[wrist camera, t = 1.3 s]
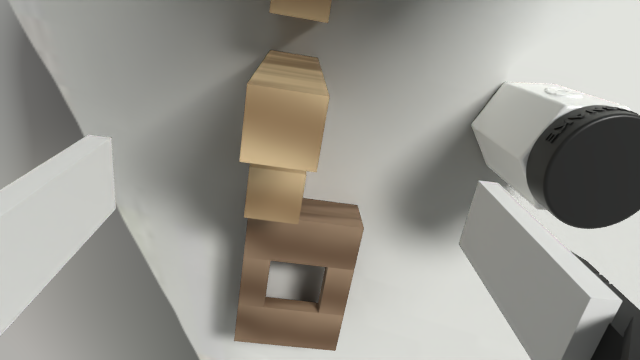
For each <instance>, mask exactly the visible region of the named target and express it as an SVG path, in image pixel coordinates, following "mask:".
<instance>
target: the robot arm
mask: <svg viewBox="0 0 640 360" xmlns="http://www.w3.org/2000/svg"><path fill="white" fill-rule="evenodd" d="M115 209H116V203H115V187H114V170H113V153H112V137H103V136H95V135H87V136H86V137H84V138H83V139H81V140H79V141H78V142H76V143H75V144H73V145H71V146H70V147H68V148H67V149H65V150H63V151H62V152H60V153H59V154H57V155H55V156H54V157H52V158H51V159H49V160H47V161H46V162H44V163H43V164H41V165H39V166H38V167H36V168H34V169H33V170H31V171H30V172H28V173H26V174H25V175H23V176H22V177H20V178H18V179H17V180H15V181H14V182H12V183H10V184H9V185H7V186H6V187H4V188H2V189H1V190H0V336H1V335H2V334H3V333H4V332H5V330H6V329H7V328H8V327H9V326H10V325H11V324H12V323H13V322H14V321H15V319H16V318H17V317H18V316H19V315H20V314H21V313H22V312H23V310H25V308H26V307H27V306H28V305H29V304H30V303H31V302H32V301H33V299H34V298H35V297H36V296H37V295H38V294H39V293H40V292H41V291H42V290H43V288H44V287H45V286H46V285H47V284H48V283H49V282H50V281H51V280H52V278H53V277H54V276H55V275H56V274H57V273H58V272H59V271H60V270H61V269H62V268H63V266H64V265H65V264H66V263H67V262H68V261H69V260H70V259H71V258H72V257H73V255H74V254H75V253H76V252H77V251H78V250H79V249H80V248H81V247H82V245H83V244H84V243H85V242H86V241H87V240H88V239H89V238H90V236H92V234H93V233H94V232H95V231H96V230H97V229H98V228H99V227H100V226H101V224H102V223H103V222H104V221H105V220H106V219H107V218H108V217H109V216H110V215H111V213H112V212H113V211H114V210H115ZM459 245H460V247H461V249H462V250H463V252H464V253H465V255H466V257H467V258H468V260H469V261H470V263H471V265H472V266H473V268H474V269H475V271H476V272H477V274H478V276H479V277H480V279H481V280H482V282H483V284H484V285H485V287H486V288H487V290H488V292H489V293H490V295H491V296H492V298H493V300H494V301H495V303H496V304H497V306H498V308H499V309H500V311H501V312H502V314H503V315H504V317H505V319H506V320H507V322H508V323H509V325H510V327H511V328H512V330H513V331H514V333H515V335H516V336H517V338H518V339H519V341H520V343H521V344H522V346H523V347H524V349H525V351H526V352H527V354H528V355H529V357H530V359H531V360H640V310H639V309H638V308H637V307H636V306H635V305H634V304H633V303H631V302H630V301H629V300H628V299H627V298H626V297H625V296H624V295H623V294H622V293H621V292H620V291H619V290H617V289H616V288H615V287H614V286H613V285H612V284H609V281H608V280H607V279H606V278H605V277H603V276H602V275H599V272H598V271H597V270H596V269H595V268H594V267H593V266H592V265H591V264H589V263H588V262H587V261H586V260H584V259H582V258H581V257H579V256H578V255H576V254H574V253H573V252H571V251H570V250H569V249H568V248H566V247H565V246H564V245H563V244H562V243H561V242H560V241H559V240H558V239H557V238H556V237H555V236H554V235H553V234H552V233H551V232H550V231H549V230H547V229H546V228H545V227H544V226H543V225H542V224H541V223H540V222H539V221H538V220H537V219H536V218H535V217H534V216H533V215H532V214H531V213H530V212H529V211H527V210H526V209H525V208H524V207H523V206H522V205H521V204H520V203H519V202H518V201H517V200H516V199H515V198H514V197H513V196H512V195H511V194H510V193H508V192H507V191H506V190H505V189H504V188H503V187H502V186H501V185H500V184H499V183H496V182H487V181H479V180H478V184H477V187H476V190H475V193H474V197H473V200H472V203H471V206H470V209H469V213H468V216H467V219H466V222H465V226H464V229H463V232H462V235H461V239H460V242H459Z"/></svg>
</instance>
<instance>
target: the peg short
mask: <svg viewBox="0 0 640 360" xmlns="http://www.w3.org/2000/svg"><path fill="white" fill-rule="evenodd" d="M331 2H332V0H271V2H270V11H269V13H274V14H279V15H285V16H291V17H296V18H302V19H308V20H314V21H319V22H325V23H328V20H329V14H330V8H331Z"/></svg>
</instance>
